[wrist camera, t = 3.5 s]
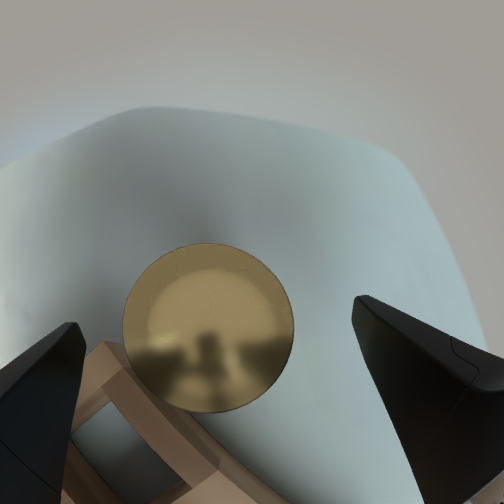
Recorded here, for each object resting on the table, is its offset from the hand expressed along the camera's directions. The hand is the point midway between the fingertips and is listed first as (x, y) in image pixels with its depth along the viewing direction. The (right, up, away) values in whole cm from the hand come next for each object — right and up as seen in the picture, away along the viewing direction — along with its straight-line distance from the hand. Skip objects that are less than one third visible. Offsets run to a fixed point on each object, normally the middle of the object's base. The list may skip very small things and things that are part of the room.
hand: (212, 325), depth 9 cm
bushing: (0, -3, +7) cm, 8 cm away
